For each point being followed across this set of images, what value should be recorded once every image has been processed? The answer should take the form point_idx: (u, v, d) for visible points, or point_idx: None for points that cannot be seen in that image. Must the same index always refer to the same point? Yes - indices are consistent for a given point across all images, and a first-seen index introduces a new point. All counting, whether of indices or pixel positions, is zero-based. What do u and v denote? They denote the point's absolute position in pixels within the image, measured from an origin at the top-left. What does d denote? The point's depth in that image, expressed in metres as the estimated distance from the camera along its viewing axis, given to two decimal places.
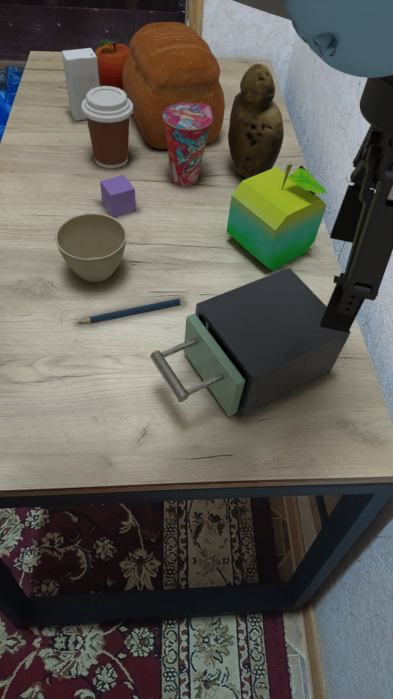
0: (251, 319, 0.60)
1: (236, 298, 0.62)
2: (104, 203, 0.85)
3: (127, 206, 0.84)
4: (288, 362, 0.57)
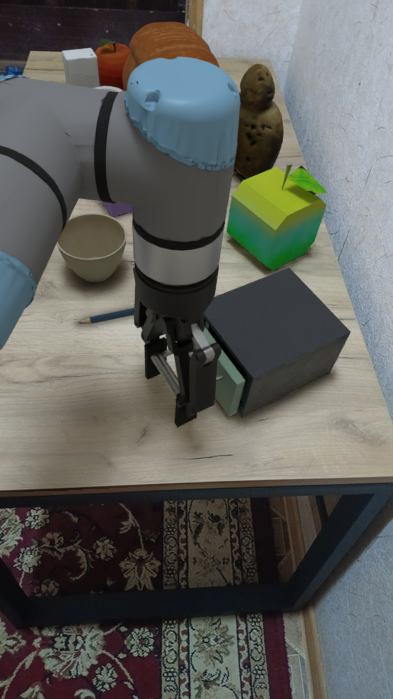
0: (251, 319, 0.60)
1: (236, 298, 0.62)
2: (104, 203, 0.85)
3: (127, 206, 0.84)
4: (288, 362, 0.57)
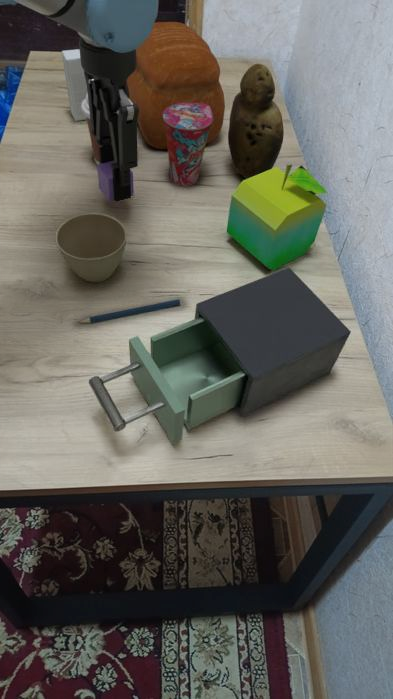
0: (251, 319, 0.60)
1: (236, 298, 0.62)
2: (101, 188, 0.82)
3: None
4: (288, 362, 0.57)
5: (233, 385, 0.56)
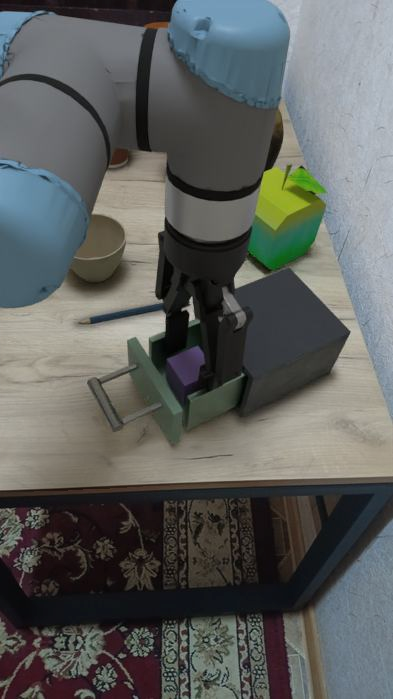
0: None
1: (236, 298, 0.62)
2: (170, 383, 0.61)
3: None
4: (288, 362, 0.57)
5: (231, 386, 0.56)
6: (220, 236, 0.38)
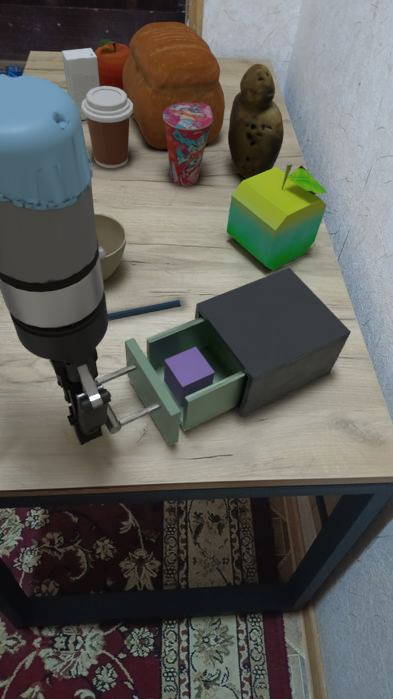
0: (251, 319, 0.60)
1: (236, 298, 0.62)
2: (168, 384, 0.61)
3: None
4: (288, 362, 0.57)
5: (229, 387, 0.56)
6: (55, 323, 0.36)
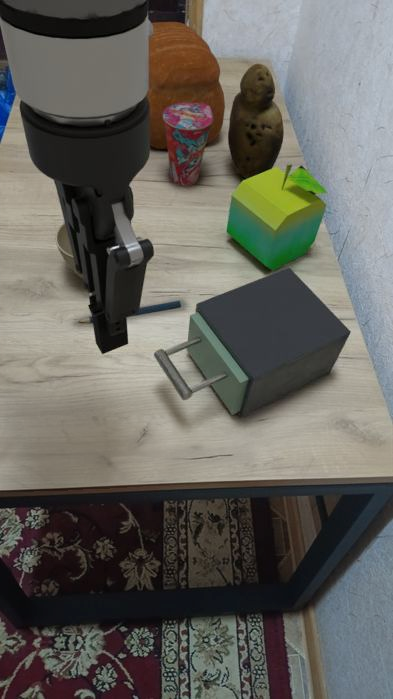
0: (251, 319, 0.60)
1: (236, 298, 0.62)
2: None
3: None
4: (288, 362, 0.57)
5: None
6: (86, 108, 0.25)
